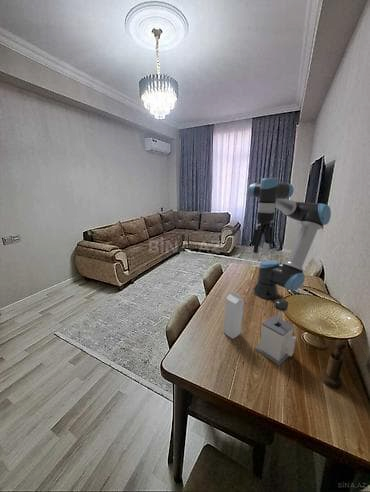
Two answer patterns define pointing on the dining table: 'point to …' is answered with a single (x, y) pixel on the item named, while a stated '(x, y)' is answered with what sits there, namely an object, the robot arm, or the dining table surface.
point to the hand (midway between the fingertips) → (260, 256)
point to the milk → (233, 315)
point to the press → (276, 340)
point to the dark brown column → (334, 367)
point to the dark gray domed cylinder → (280, 308)
